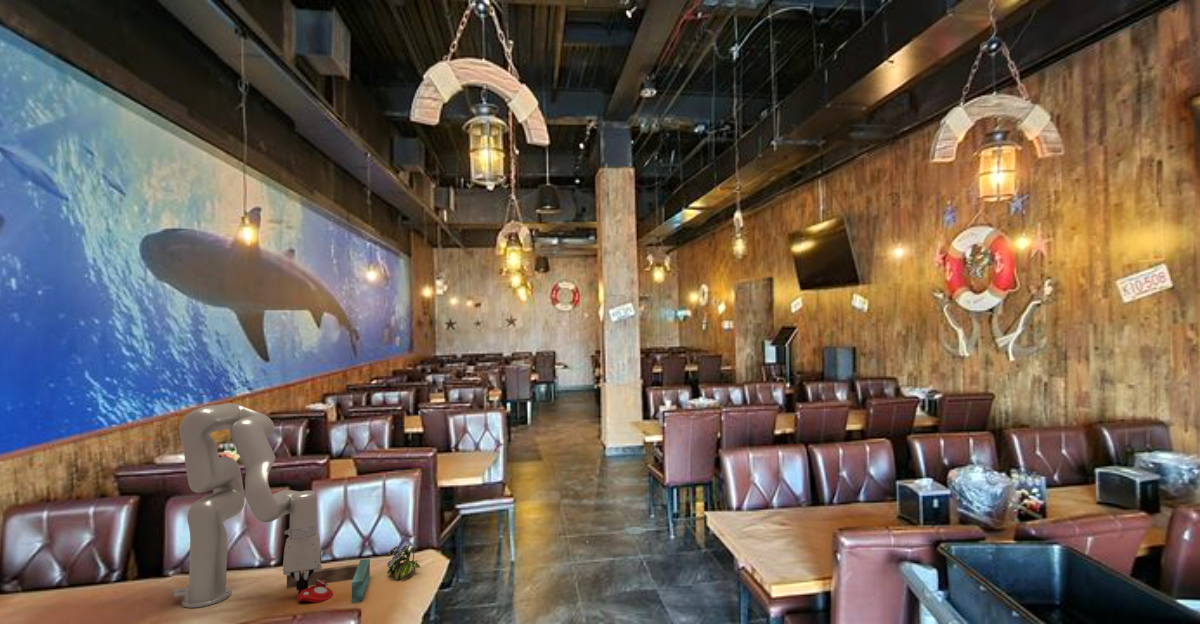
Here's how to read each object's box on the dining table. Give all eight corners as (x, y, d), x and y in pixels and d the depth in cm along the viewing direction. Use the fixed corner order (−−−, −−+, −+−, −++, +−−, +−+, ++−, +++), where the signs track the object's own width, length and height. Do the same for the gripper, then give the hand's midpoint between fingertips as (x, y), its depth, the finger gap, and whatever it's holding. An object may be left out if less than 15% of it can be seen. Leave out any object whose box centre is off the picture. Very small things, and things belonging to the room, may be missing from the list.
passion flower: (392, 589, 183) (392, 553, 190) (425, 580, 185) (423, 545, 192) (382, 582, 174) (382, 544, 181) (416, 573, 176) (414, 536, 183)
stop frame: (269, 615, 155) (269, 593, 156) (288, 585, 175) (288, 566, 176) (362, 601, 163) (362, 581, 163) (370, 574, 183) (370, 556, 183)
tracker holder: (338, 595, 166) (304, 597, 160) (333, 609, 166) (299, 612, 159) (328, 575, 175) (296, 576, 169) (324, 588, 175) (291, 590, 168)
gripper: (273, 538, 163) (271, 600, 162) (326, 532, 168) (326, 593, 166) (279, 531, 171) (278, 590, 169) (331, 525, 175) (330, 583, 174)
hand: (302, 591), depth 168 cm, fingers closed
